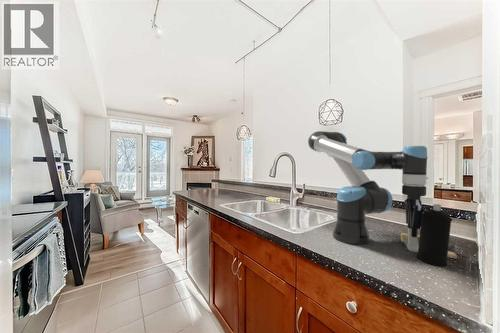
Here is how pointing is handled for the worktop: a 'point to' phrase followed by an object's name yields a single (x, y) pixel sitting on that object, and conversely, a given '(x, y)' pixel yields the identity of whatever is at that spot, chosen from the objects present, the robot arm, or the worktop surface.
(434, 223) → the aerosol can
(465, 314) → the worktop surface
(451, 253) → the door leaf
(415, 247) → the jamb plate
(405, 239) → the brass swing stop
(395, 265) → the worktop surface
